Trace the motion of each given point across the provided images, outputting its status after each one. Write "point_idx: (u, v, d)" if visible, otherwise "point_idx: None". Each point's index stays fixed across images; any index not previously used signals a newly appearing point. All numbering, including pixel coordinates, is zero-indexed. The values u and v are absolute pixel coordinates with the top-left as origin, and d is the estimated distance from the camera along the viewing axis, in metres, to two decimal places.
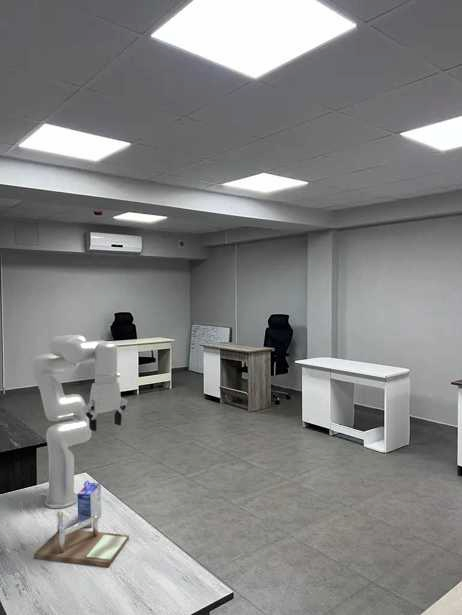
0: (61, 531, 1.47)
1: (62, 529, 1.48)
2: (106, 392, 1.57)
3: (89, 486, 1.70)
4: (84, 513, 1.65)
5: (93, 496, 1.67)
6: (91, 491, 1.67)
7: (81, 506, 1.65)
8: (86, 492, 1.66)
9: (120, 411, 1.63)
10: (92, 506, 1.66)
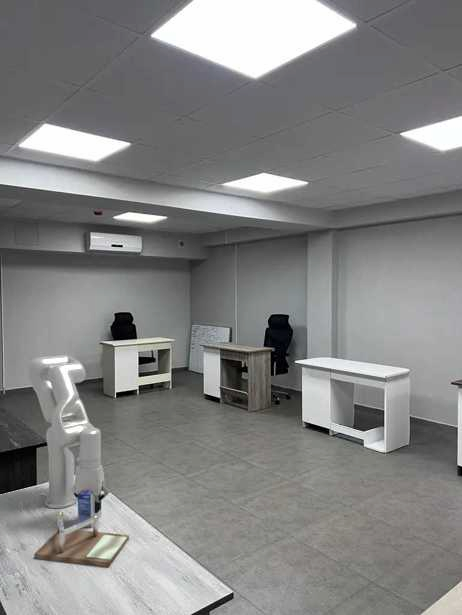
0: (61, 531, 1.47)
1: (62, 529, 1.48)
2: None
3: None
4: (84, 513, 1.65)
5: (93, 496, 1.66)
6: None
7: (82, 506, 1.65)
8: (86, 492, 1.66)
9: None
10: (92, 506, 1.66)
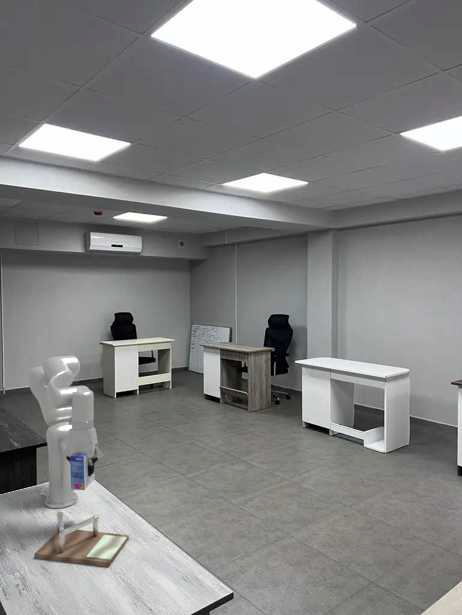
0: (61, 531, 1.47)
1: (62, 529, 1.48)
2: None
3: None
4: (77, 476, 1.61)
5: (86, 459, 1.63)
6: None
7: (74, 468, 1.61)
8: (79, 454, 1.62)
9: None
10: (85, 469, 1.62)
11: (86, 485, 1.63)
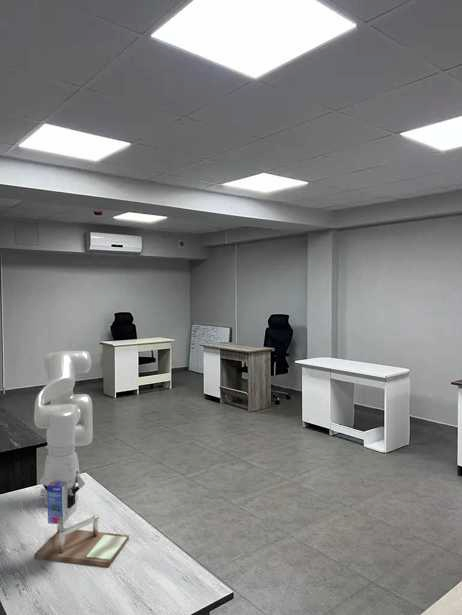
0: (61, 531, 1.47)
1: (62, 529, 1.48)
2: None
3: None
4: (55, 508, 1.42)
5: (65, 489, 1.43)
6: None
7: (52, 500, 1.42)
8: (57, 484, 1.43)
9: None
10: (64, 500, 1.43)
11: (65, 518, 1.43)
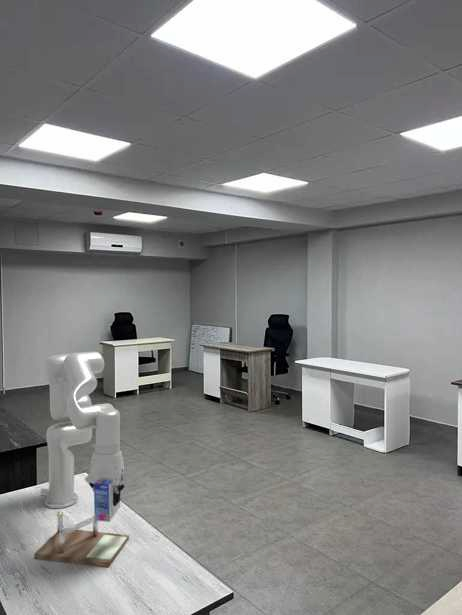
0: (61, 531, 1.47)
1: (62, 529, 1.48)
2: None
3: None
4: (101, 506, 1.44)
5: (111, 486, 1.46)
6: None
7: (99, 497, 1.44)
8: (104, 482, 1.45)
9: None
10: (110, 497, 1.45)
11: (111, 516, 1.46)
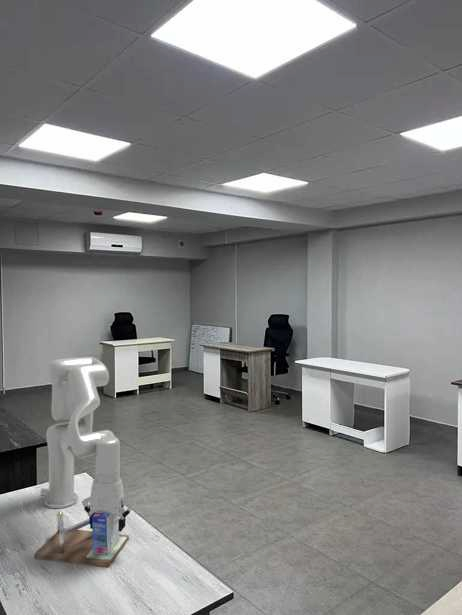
0: (61, 531, 1.47)
1: (62, 529, 1.48)
2: None
3: None
4: (99, 539, 1.45)
5: (109, 519, 1.46)
6: None
7: (97, 530, 1.45)
8: (102, 514, 1.46)
9: None
10: (109, 530, 1.46)
11: (109, 549, 1.46)
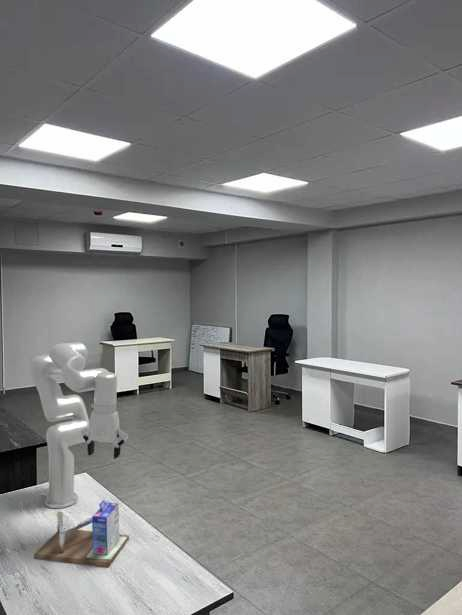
0: (61, 531, 1.47)
1: (62, 529, 1.48)
2: None
3: (105, 507, 1.50)
4: (99, 539, 1.45)
5: (109, 519, 1.46)
6: (107, 513, 1.46)
7: (97, 530, 1.45)
8: (102, 514, 1.46)
9: None
10: (109, 530, 1.46)
11: (109, 549, 1.46)
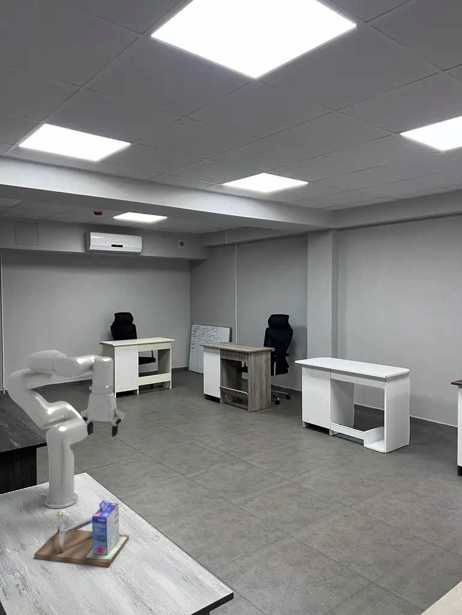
0: (61, 531, 1.47)
1: (62, 529, 1.48)
2: None
3: (105, 507, 1.50)
4: (99, 539, 1.45)
5: (109, 519, 1.46)
6: (107, 513, 1.46)
7: (97, 530, 1.45)
8: (102, 514, 1.46)
9: None
10: (109, 530, 1.46)
11: (109, 549, 1.46)
